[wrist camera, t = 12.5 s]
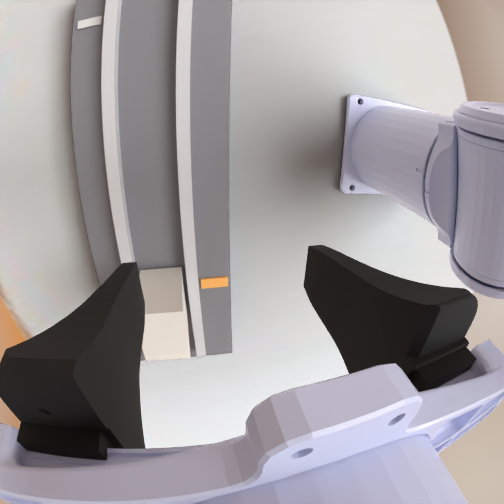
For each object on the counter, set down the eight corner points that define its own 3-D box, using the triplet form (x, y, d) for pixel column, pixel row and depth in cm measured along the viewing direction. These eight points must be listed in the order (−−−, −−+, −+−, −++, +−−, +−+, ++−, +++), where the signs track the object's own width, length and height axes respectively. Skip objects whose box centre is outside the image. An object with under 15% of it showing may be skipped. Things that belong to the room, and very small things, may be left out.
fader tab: (181, 266, 21) (182, 311, 17) (186, 310, 23) (190, 357, 18) (140, 270, 20) (132, 315, 16) (149, 313, 22) (146, 360, 18)
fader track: (228, -17, 14) (235, -33, 11) (228, 337, 28) (234, 360, 25) (86, -2, 12) (73, -15, 9) (127, 346, 26) (124, 369, 23)
